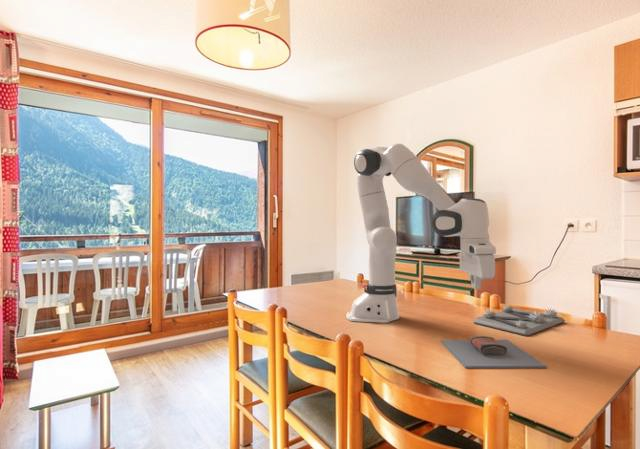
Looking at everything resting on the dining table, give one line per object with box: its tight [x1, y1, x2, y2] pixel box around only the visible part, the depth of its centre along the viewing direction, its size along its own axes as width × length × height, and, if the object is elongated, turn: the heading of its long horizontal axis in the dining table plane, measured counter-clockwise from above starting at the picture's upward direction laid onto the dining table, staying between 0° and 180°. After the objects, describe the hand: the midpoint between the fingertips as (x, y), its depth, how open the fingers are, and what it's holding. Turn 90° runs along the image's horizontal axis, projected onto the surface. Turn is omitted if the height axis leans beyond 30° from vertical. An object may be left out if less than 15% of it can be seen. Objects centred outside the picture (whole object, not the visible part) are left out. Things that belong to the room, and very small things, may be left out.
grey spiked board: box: [472, 304, 566, 337], centre depth 142 cm, size 30×22×7 cm
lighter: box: [469, 335, 507, 355], centre depth 112 cm, size 8×3×10 cm
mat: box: [440, 339, 547, 369], centre depth 110 cm, size 22×22×1 cm
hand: (476, 288), depth 118 cm, fingers closed
